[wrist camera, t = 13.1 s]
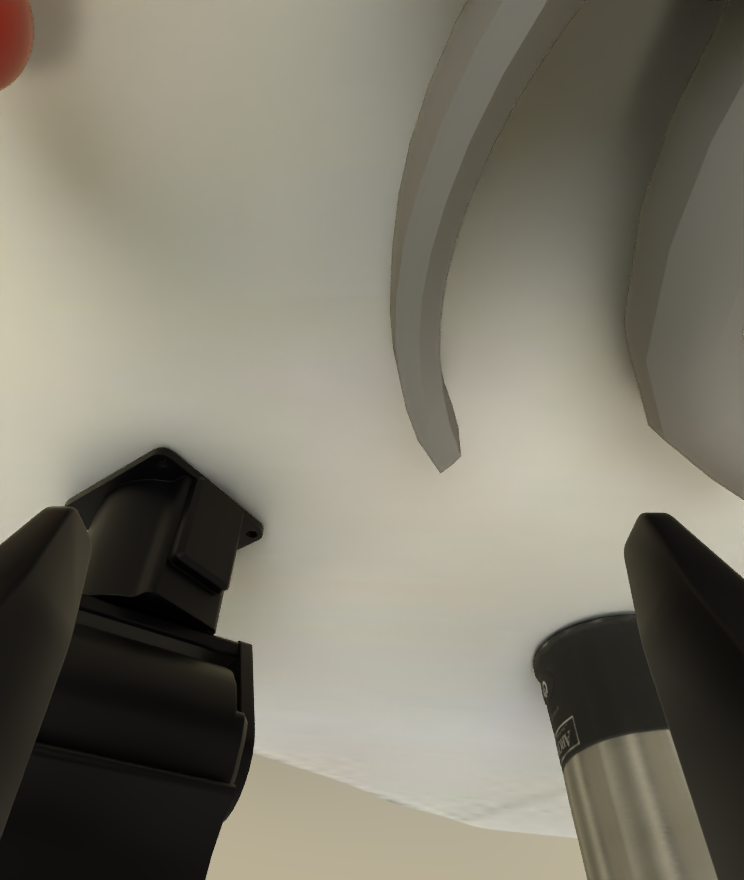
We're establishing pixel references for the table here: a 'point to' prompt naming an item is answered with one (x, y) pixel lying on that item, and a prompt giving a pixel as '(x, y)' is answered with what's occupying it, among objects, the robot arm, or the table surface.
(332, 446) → the table surface
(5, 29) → the tap lever
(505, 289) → the table surface
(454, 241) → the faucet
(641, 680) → the milk frother
